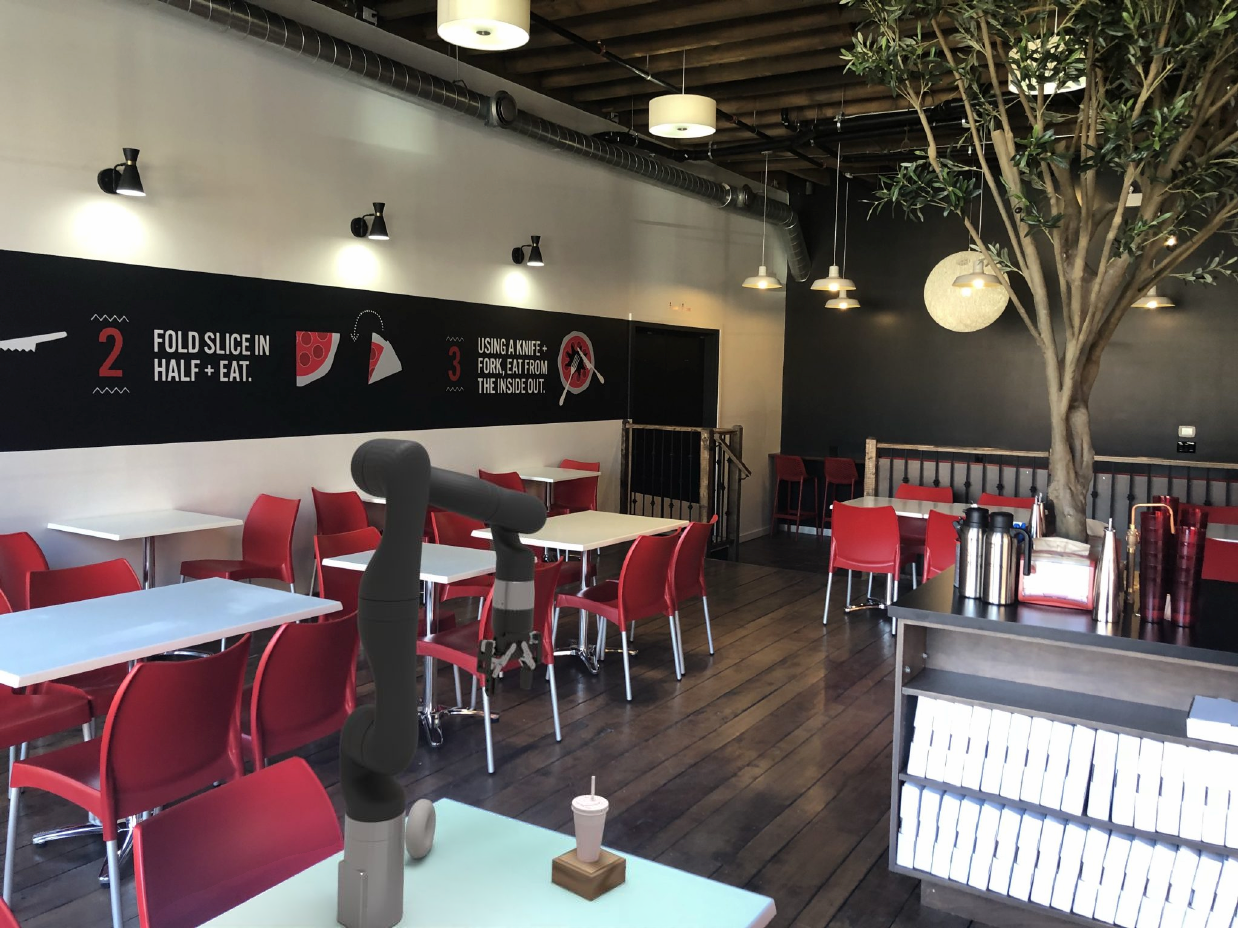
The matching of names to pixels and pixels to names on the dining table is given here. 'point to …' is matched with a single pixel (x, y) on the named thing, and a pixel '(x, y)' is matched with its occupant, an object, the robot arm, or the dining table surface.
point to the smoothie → (589, 824)
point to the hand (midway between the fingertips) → (508, 692)
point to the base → (588, 873)
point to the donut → (420, 828)
